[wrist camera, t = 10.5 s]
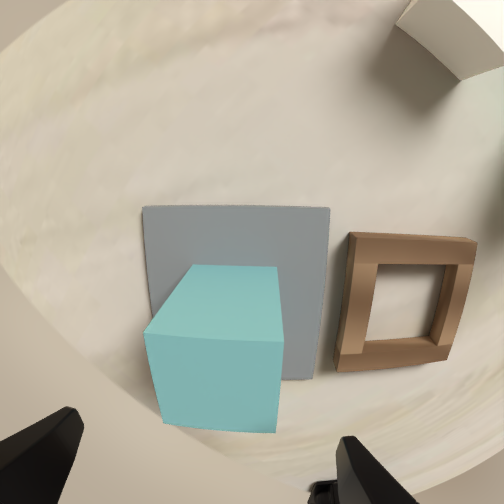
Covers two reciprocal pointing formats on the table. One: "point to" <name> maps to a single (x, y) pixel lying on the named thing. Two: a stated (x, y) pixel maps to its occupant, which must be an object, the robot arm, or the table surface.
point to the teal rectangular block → (219, 349)
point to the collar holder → (362, 289)
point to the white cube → (458, 33)
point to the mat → (248, 260)
